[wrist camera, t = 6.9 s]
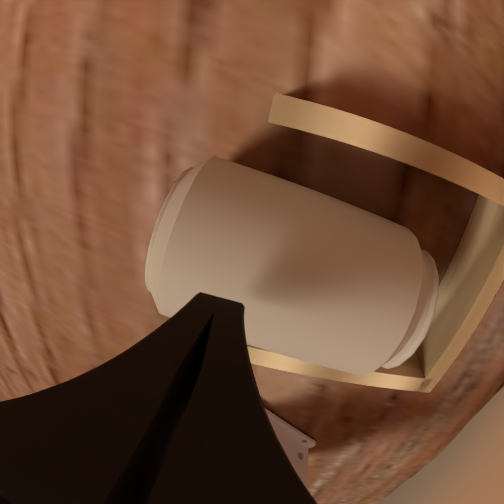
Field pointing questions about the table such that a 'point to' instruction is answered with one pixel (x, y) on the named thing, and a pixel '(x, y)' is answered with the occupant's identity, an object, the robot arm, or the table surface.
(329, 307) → the can
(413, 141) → the tray
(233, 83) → the table surface
